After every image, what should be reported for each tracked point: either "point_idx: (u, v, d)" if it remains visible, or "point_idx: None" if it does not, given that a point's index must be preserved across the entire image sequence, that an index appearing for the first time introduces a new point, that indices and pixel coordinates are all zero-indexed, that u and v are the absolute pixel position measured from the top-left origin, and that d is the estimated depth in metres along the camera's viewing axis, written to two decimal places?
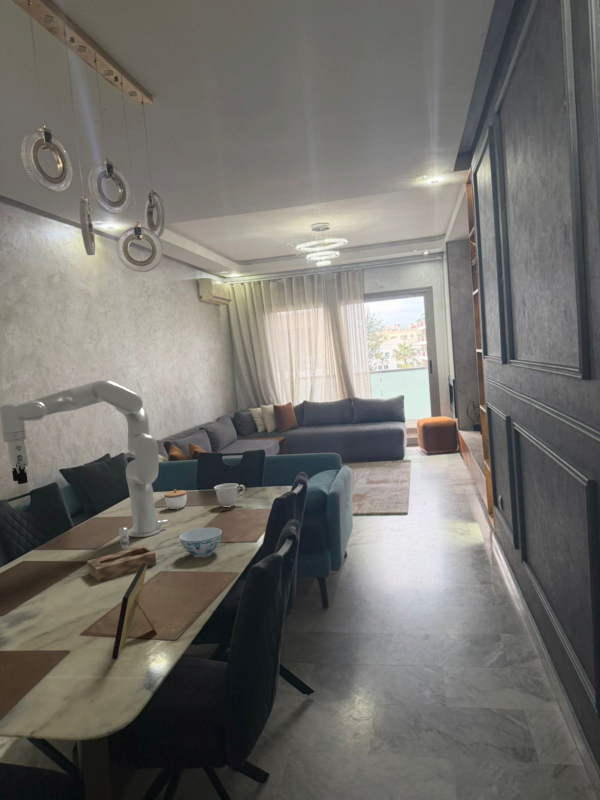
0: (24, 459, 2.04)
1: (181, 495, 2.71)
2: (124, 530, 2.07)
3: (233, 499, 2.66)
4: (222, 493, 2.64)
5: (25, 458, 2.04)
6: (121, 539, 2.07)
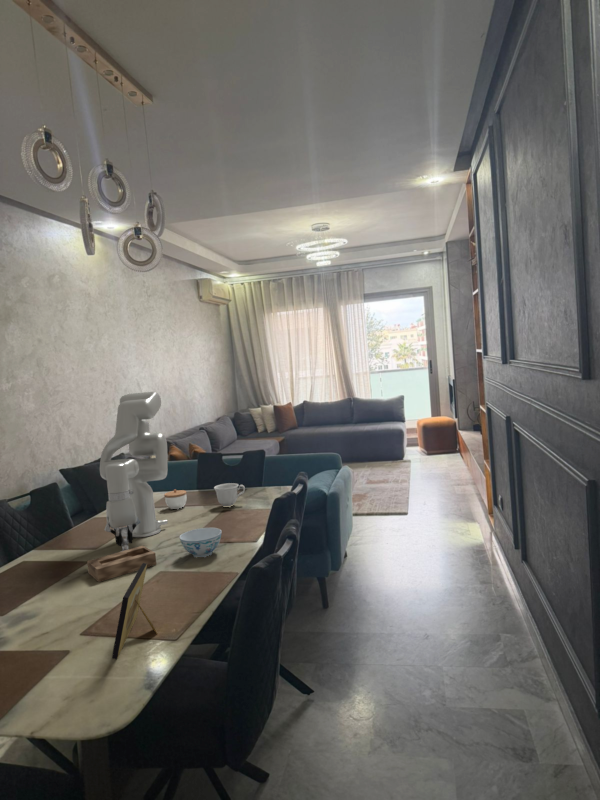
0: None
1: (181, 495, 2.71)
2: (124, 530, 2.07)
3: (233, 499, 2.66)
4: (222, 493, 2.64)
5: None
6: (121, 539, 2.07)
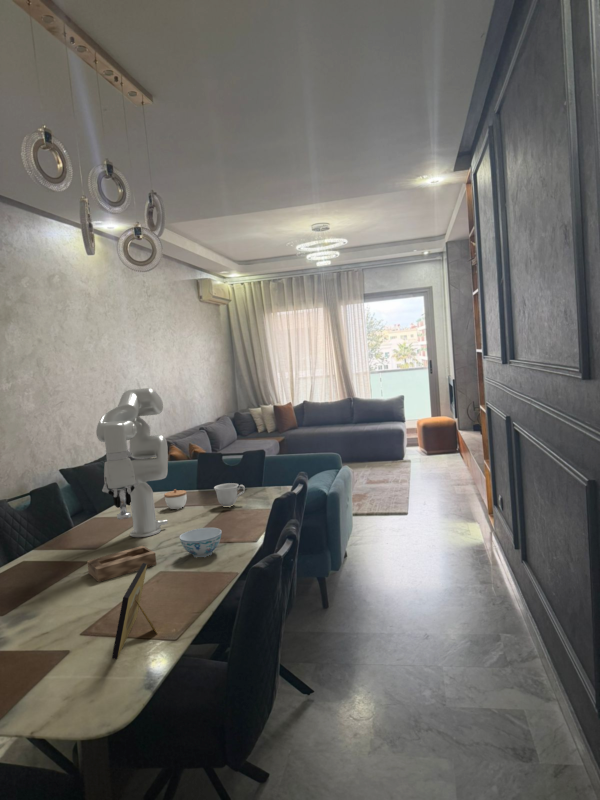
0: None
1: (181, 495, 2.71)
2: (122, 491, 2.03)
3: (233, 499, 2.66)
4: (222, 493, 2.64)
5: None
6: (119, 501, 2.03)
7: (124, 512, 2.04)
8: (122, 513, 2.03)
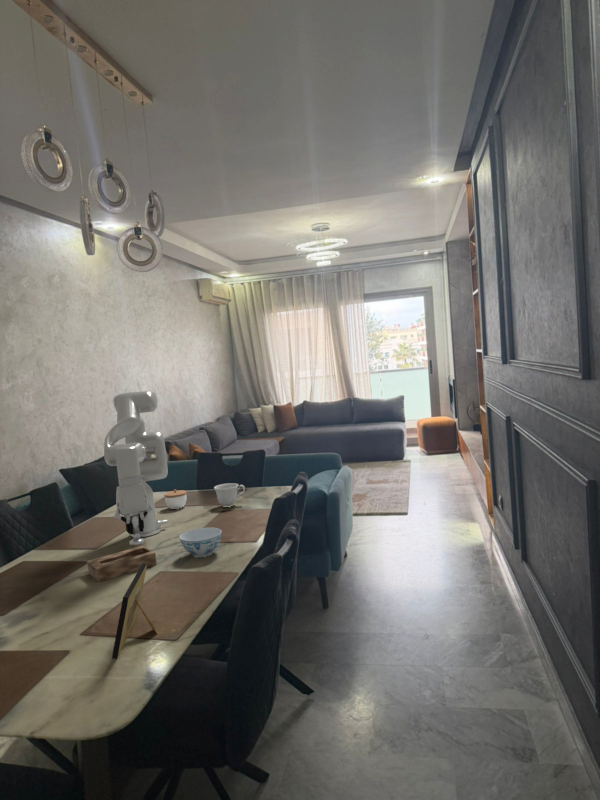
0: None
1: (181, 495, 2.71)
2: (135, 517, 1.95)
3: (233, 499, 2.66)
4: (222, 493, 2.64)
5: None
6: (132, 527, 1.95)
7: (137, 539, 1.96)
8: (135, 540, 1.96)
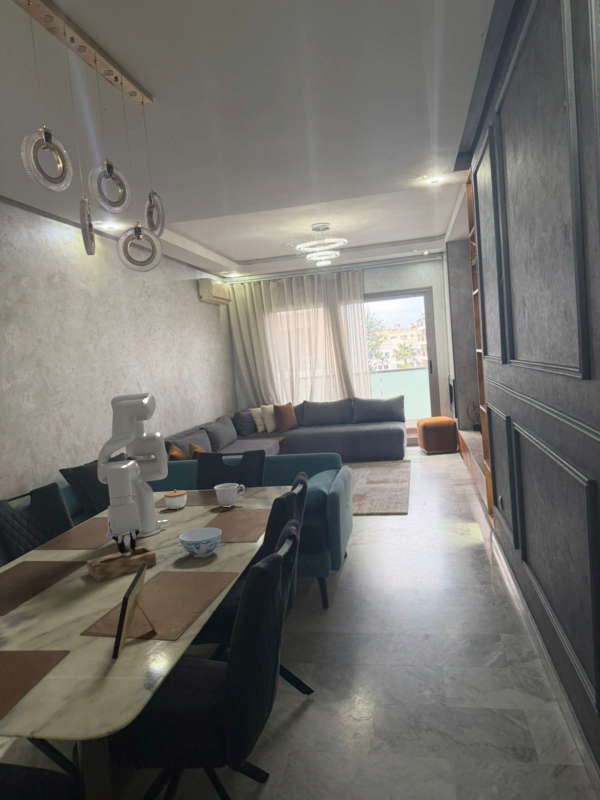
0: None
1: (181, 495, 2.71)
2: (127, 537, 1.93)
3: (233, 499, 2.66)
4: (222, 493, 2.64)
5: None
6: None
7: None
8: None
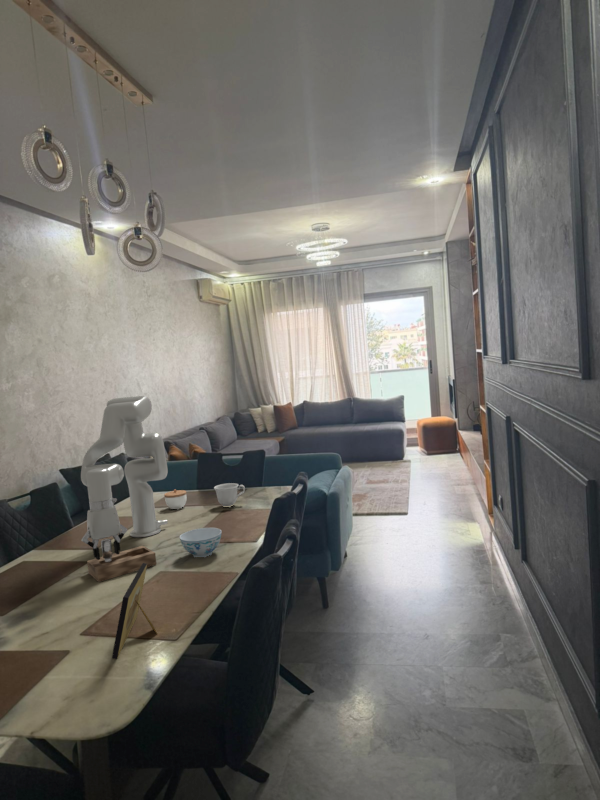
0: None
1: (181, 495, 2.71)
2: (107, 543, 1.89)
3: (233, 499, 2.66)
4: (222, 493, 2.64)
5: None
6: (104, 552, 1.89)
7: None
8: None
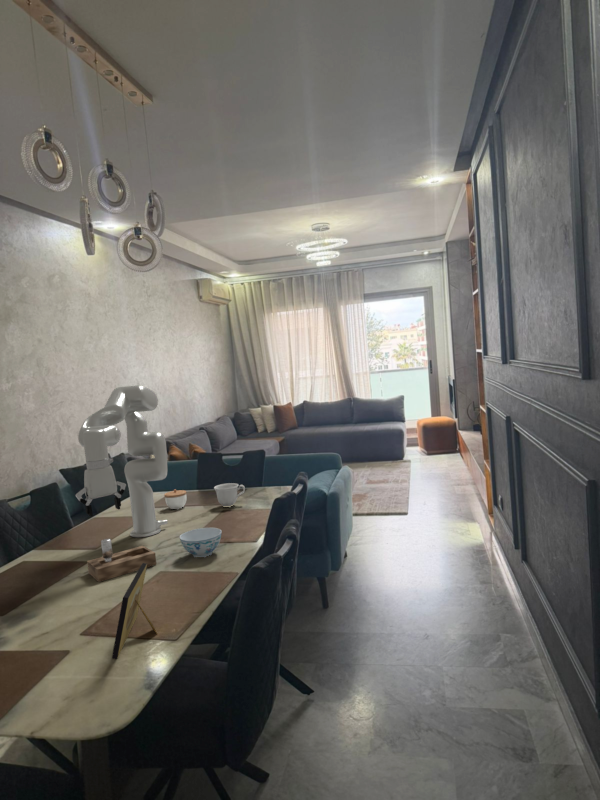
0: None
1: (181, 495, 2.71)
2: (107, 542, 1.90)
3: (233, 499, 2.66)
4: (222, 493, 2.64)
5: None
6: (104, 552, 1.89)
7: None
8: None
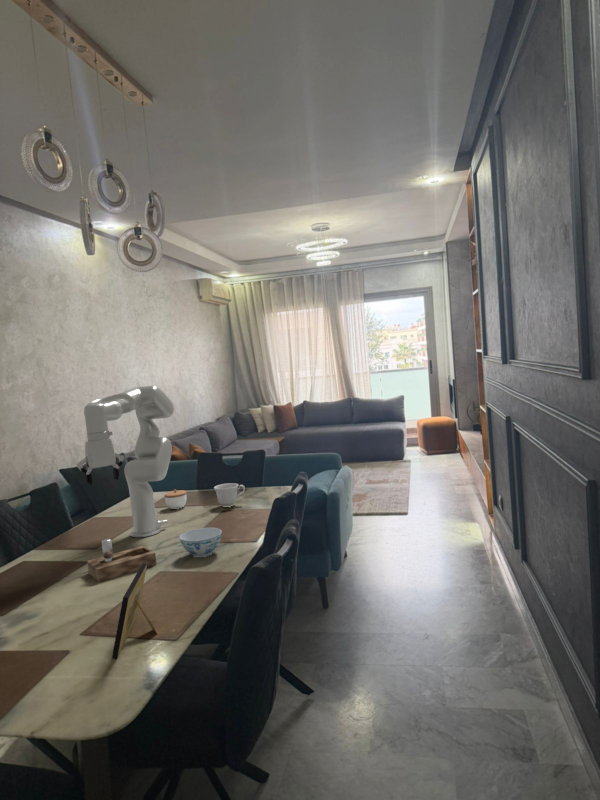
0: None
1: (181, 495, 2.71)
2: (108, 542, 1.89)
3: (233, 499, 2.66)
4: (222, 493, 2.64)
5: None
6: (104, 552, 1.89)
7: None
8: None
